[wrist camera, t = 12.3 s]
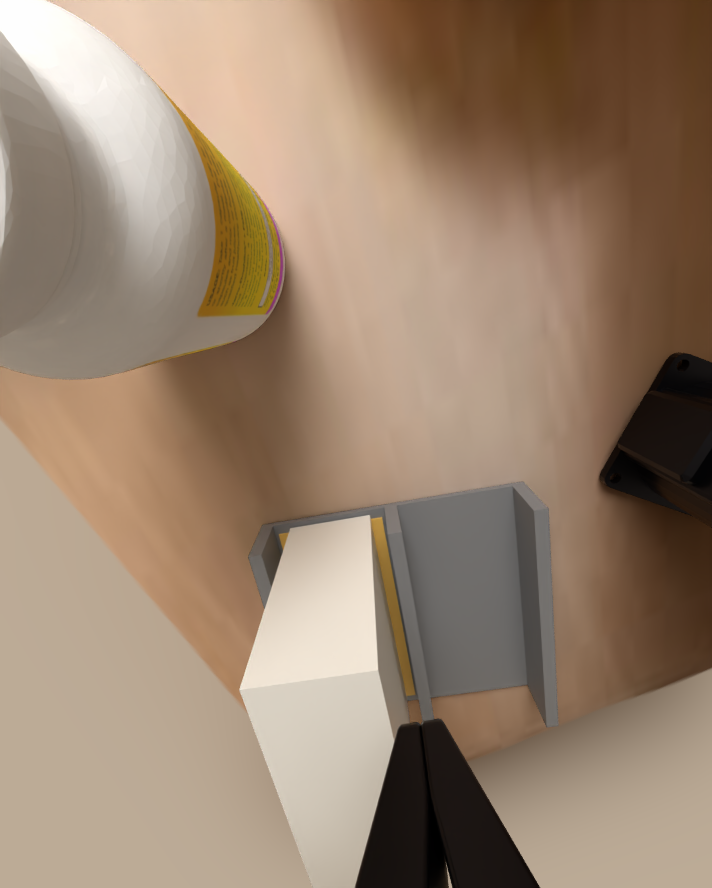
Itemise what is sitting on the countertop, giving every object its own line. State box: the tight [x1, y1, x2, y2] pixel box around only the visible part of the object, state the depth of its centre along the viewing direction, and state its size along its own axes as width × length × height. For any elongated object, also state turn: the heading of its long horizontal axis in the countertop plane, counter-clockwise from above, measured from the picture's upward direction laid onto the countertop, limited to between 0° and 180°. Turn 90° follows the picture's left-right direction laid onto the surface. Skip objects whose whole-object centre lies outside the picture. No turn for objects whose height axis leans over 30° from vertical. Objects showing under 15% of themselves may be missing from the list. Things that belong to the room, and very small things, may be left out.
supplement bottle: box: [0, 0, 285, 380], centre depth 11 cm, size 7×7×13 cm
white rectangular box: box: [240, 515, 410, 888], centre depth 18 cm, size 4×12×9 cm, turn 11°
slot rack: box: [248, 482, 558, 727], centre depth 20 cm, size 13×13×4 cm
